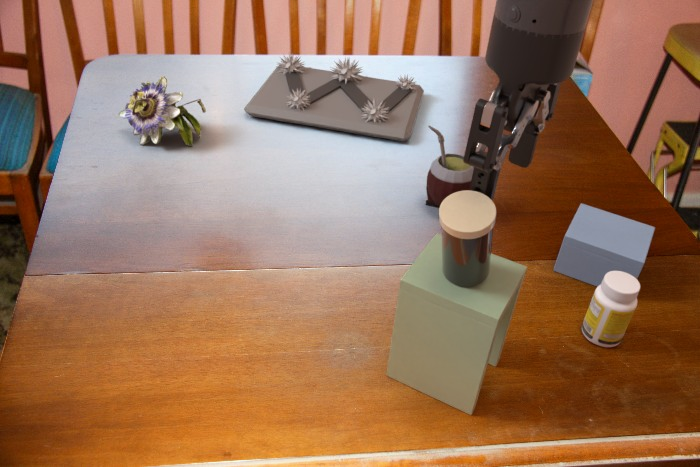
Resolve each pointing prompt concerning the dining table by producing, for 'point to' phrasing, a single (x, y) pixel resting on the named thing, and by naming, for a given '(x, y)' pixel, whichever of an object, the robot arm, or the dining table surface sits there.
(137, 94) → the passion flower
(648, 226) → the blue grey block
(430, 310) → the notched sage green block
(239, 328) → the dining table surface
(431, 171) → the mate gourd
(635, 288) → the supplement bottle
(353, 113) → the spiky constellation board
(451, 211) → the spice jar
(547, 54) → the robot arm
